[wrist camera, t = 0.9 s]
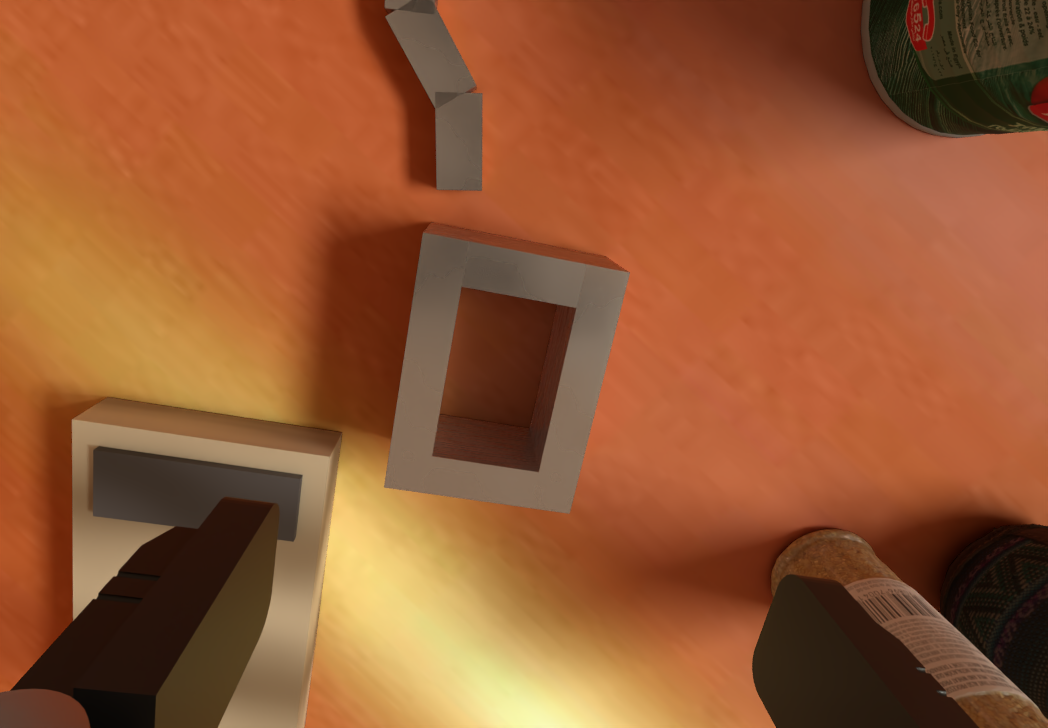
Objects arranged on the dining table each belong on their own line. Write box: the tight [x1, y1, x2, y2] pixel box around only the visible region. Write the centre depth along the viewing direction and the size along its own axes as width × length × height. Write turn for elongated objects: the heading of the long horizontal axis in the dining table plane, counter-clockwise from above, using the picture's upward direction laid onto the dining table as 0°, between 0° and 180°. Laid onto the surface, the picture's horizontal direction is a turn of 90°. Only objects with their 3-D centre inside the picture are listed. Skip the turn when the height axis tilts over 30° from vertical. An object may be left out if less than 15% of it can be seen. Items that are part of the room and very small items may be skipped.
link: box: [384, 222, 630, 514], centre depth 20 cm, size 8×6×4 cm
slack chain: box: [385, 0, 482, 191], centre depth 18 cm, size 11×2×1 cm, turn 12°
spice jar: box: [771, 529, 1048, 728], centre depth 20 cm, size 5×5×13 cm
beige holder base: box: [72, 397, 342, 728], centre depth 21 cm, size 18×8×8 cm, turn 169°
